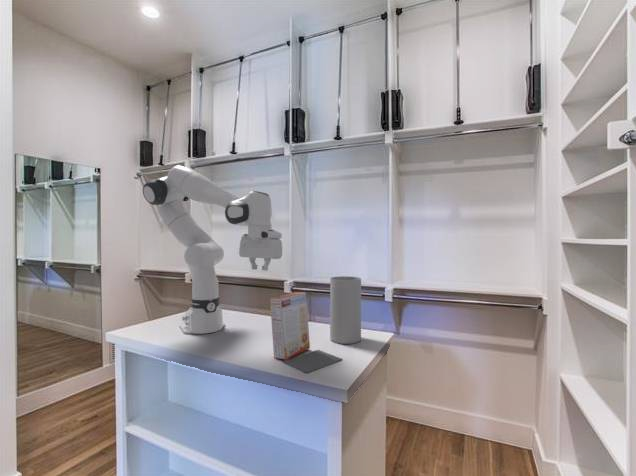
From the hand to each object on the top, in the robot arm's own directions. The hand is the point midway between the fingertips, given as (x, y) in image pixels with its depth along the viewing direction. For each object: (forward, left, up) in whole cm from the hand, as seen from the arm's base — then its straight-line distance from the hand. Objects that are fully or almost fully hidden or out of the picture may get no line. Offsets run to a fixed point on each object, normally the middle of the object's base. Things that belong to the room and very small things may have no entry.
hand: (259, 269), depth 124 cm
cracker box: (+15, +4, -29) cm, 33 cm away
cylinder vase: (+17, +30, -29) cm, 45 cm away
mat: (+25, +5, -29) cm, 39 cm away
